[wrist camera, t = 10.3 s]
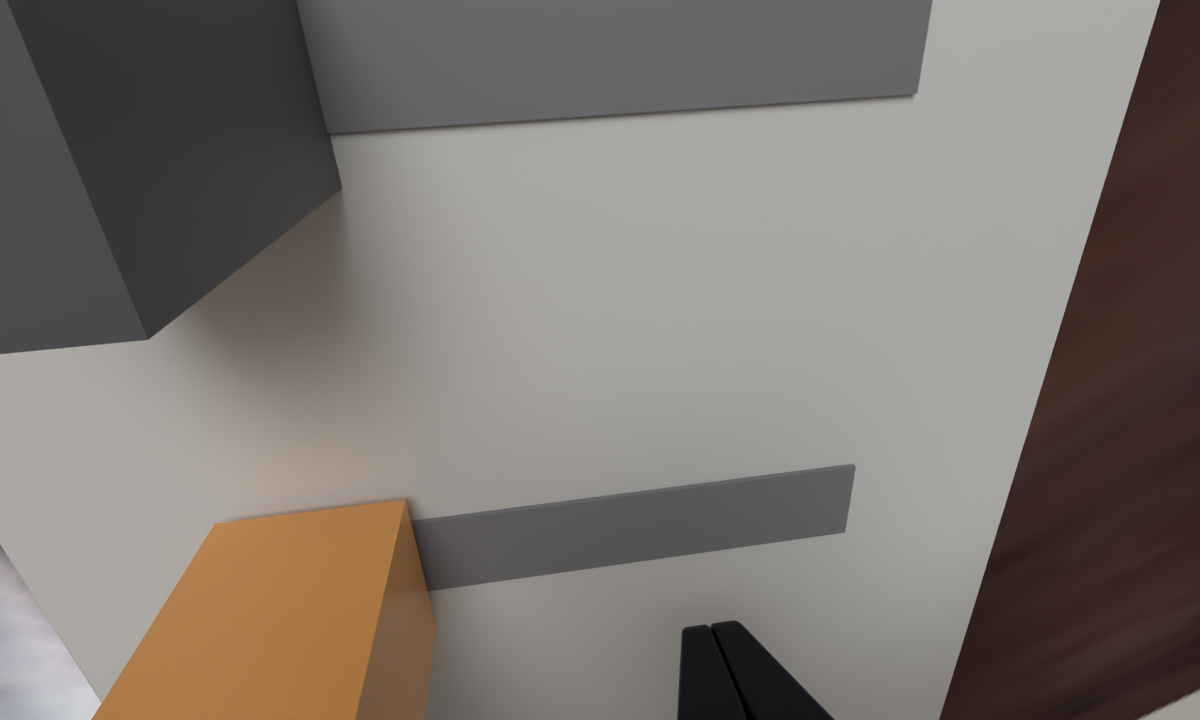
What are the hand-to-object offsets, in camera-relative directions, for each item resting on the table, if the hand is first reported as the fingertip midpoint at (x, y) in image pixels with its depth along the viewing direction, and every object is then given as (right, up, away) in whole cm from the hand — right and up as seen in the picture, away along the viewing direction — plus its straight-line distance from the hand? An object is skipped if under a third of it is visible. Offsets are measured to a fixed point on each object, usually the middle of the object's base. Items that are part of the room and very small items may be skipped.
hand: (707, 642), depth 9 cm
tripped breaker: (-6, 0, +2) cm, 6 cm away
